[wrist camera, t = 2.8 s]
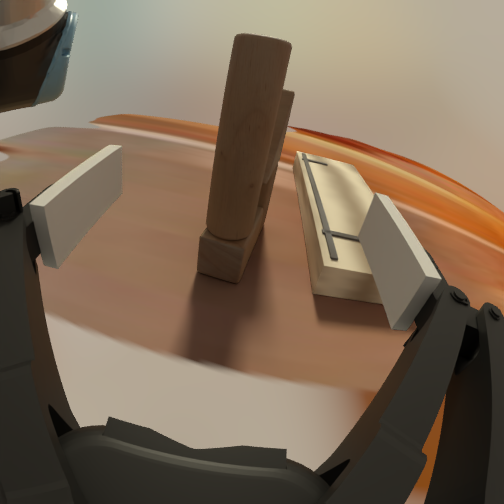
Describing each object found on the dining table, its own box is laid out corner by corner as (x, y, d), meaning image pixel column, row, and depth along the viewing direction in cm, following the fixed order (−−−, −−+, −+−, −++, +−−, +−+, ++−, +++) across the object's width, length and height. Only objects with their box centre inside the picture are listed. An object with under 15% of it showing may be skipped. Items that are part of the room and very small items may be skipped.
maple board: (312, 293, 25) (324, 263, 23) (292, 167, 49) (297, 150, 47) (410, 307, 25) (427, 282, 23) (348, 180, 49) (353, 164, 48)
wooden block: (264, 222, 32) (304, 53, 22) (238, 286, 24) (291, 39, 13) (232, 213, 33) (263, 45, 22) (194, 273, 24) (227, 29, 14)
